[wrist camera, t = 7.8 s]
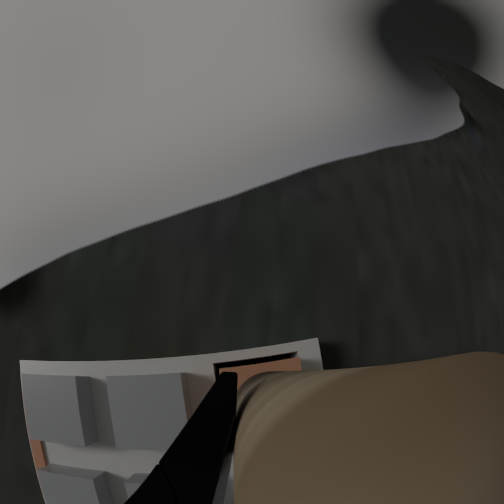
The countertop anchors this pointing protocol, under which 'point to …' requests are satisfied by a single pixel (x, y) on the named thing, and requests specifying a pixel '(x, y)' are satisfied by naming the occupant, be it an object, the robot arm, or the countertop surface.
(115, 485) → the keypad
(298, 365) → the terracotta key
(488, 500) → the tan banded cylinder
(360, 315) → the countertop surface
